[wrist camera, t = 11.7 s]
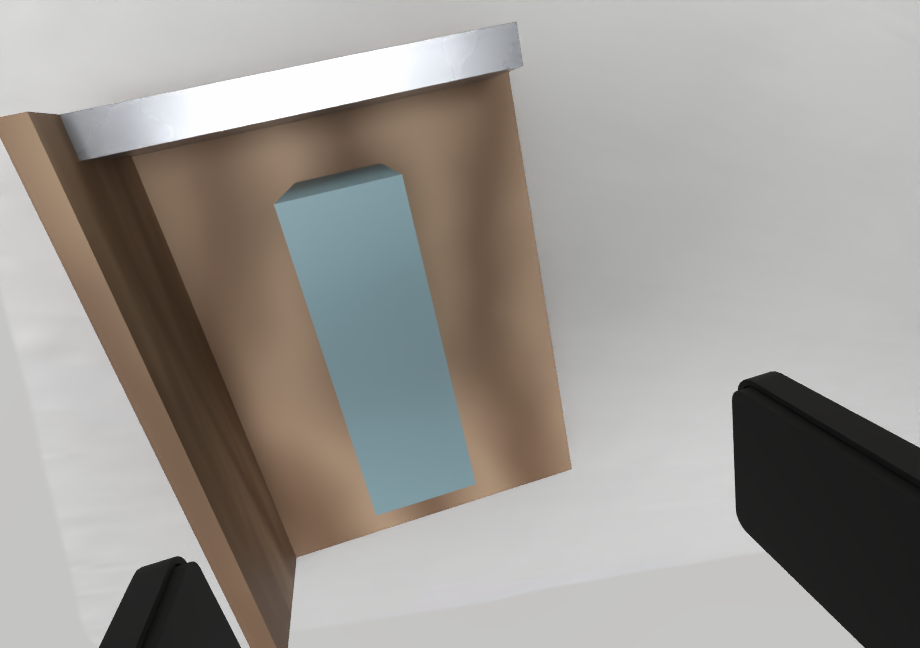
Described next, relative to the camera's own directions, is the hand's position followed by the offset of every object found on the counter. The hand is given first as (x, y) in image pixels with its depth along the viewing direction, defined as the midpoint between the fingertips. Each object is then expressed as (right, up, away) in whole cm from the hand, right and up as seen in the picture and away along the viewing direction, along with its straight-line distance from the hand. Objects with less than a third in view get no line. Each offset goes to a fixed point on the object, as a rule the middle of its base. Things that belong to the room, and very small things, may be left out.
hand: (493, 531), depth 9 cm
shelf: (-5, +4, +20) cm, 21 cm away
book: (-5, +5, +18) cm, 19 cm away
